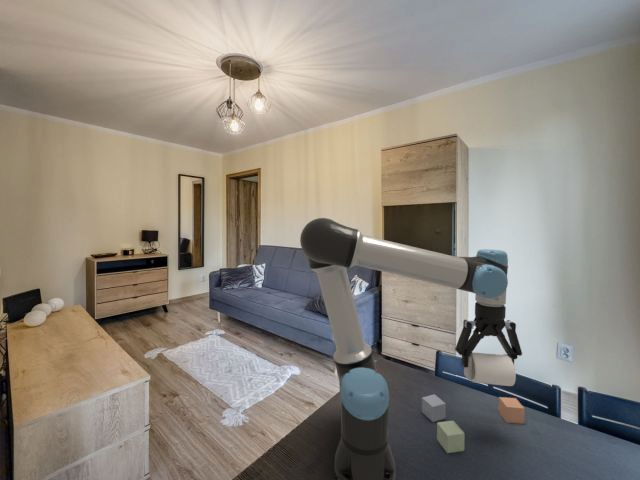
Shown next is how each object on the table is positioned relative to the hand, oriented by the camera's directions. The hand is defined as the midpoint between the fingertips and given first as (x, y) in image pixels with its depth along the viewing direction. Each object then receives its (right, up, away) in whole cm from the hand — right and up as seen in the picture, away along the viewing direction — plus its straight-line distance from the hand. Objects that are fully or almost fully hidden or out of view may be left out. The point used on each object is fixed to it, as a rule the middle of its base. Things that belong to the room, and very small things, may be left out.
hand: (486, 377), depth 81 cm
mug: (0, -1, +1) cm, 1 cm away
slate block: (-12, -16, +8) cm, 22 cm away
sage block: (-13, -17, -4) cm, 21 cm away
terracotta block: (+12, -16, +7) cm, 21 cm away
